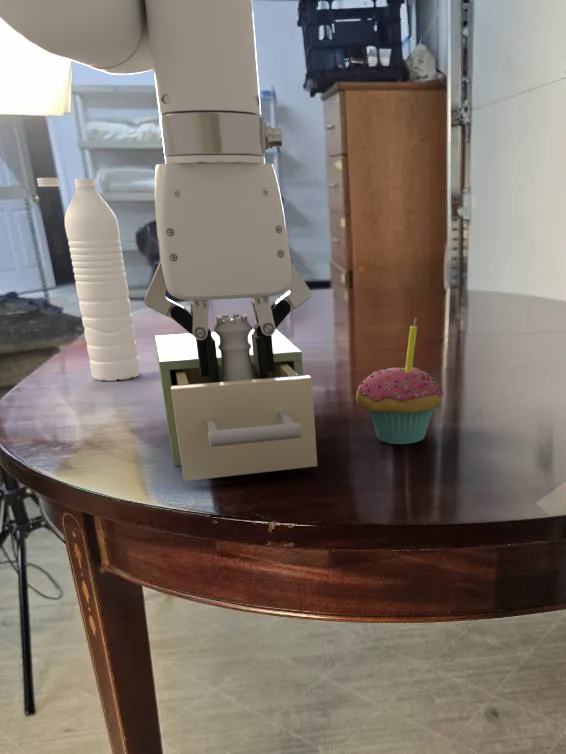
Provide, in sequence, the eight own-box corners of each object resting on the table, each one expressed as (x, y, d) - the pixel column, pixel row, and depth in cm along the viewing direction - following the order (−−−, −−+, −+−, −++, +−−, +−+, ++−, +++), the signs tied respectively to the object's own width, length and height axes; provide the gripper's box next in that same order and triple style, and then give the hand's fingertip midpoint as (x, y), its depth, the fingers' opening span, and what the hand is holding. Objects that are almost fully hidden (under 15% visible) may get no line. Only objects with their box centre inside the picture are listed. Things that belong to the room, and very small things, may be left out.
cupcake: (457, 434, 79) (459, 314, 74) (411, 456, 73) (410, 325, 68) (389, 422, 84) (387, 308, 79) (340, 442, 77) (334, 319, 73)
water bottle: (139, 369, 111) (110, 178, 101) (143, 378, 106) (112, 177, 95) (75, 375, 108) (37, 178, 98) (74, 384, 103) (35, 177, 92)
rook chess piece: (205, 415, 66) (193, 319, 63) (231, 402, 70) (221, 311, 67) (252, 418, 65) (242, 321, 62) (275, 405, 69) (267, 313, 66)
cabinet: (308, 451, 75) (301, 351, 71) (173, 466, 71) (158, 361, 67) (282, 415, 87) (275, 328, 83) (167, 425, 84) (154, 335, 80)
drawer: (331, 487, 63) (326, 392, 60) (188, 504, 60) (174, 405, 57) (289, 426, 80) (284, 350, 76) (175, 437, 76) (164, 358, 73)
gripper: (310, 147, 65) (322, 367, 72) (101, 146, 60) (137, 381, 68) (330, 141, 58) (342, 384, 66) (97, 140, 53) (138, 401, 61)
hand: (238, 380), depth 66 cm, fingers closed on rook chess piece, 3 cm apart
